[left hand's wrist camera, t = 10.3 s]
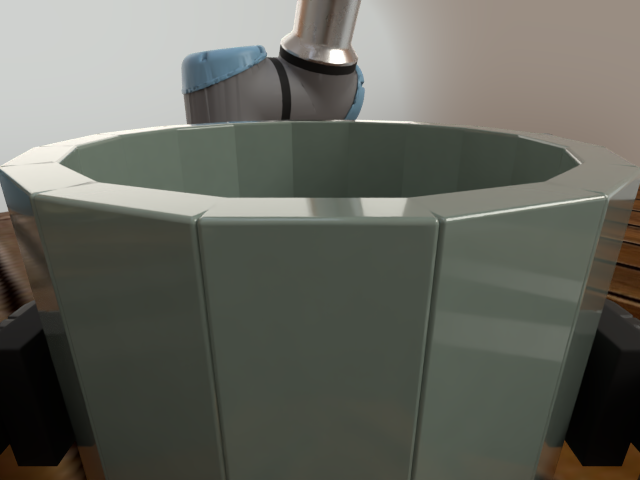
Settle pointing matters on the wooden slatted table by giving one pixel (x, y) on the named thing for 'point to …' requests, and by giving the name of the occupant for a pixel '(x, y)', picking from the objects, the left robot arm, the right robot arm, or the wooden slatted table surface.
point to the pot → (320, 295)
